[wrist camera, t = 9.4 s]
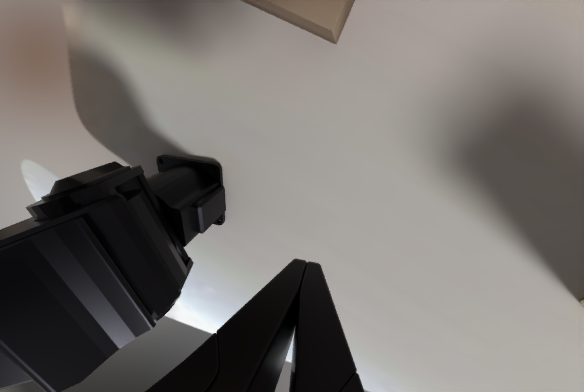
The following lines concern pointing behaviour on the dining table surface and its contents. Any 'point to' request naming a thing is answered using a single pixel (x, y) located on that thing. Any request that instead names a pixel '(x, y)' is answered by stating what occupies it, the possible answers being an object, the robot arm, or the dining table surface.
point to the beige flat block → (310, 14)
